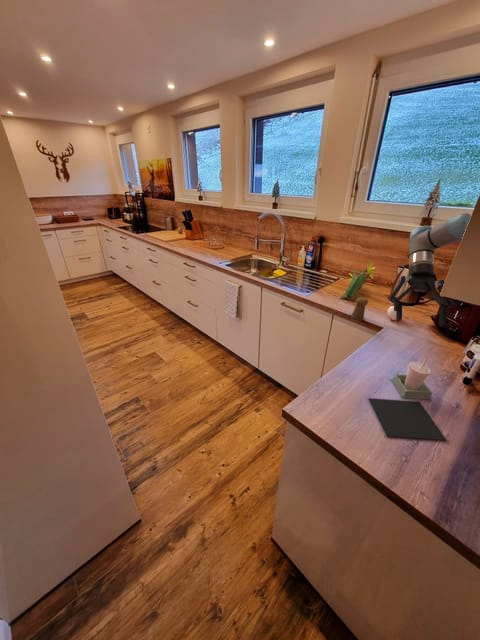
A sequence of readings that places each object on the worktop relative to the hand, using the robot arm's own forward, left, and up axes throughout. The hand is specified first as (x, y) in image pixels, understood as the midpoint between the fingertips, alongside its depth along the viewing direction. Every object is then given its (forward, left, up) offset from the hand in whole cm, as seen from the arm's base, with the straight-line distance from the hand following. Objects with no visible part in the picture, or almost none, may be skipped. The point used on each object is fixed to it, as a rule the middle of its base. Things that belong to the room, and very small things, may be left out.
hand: (420, 322), depth 90 cm
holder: (+2, +11, -21) cm, 23 cm away
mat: (+10, +24, -21) cm, 33 cm away
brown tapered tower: (+3, -41, -21) cm, 47 cm away
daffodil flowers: (-8, -76, -21) cm, 79 cm away
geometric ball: (-16, -42, -21) cm, 50 cm away
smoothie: (+2, +11, -21) cm, 23 cm away
